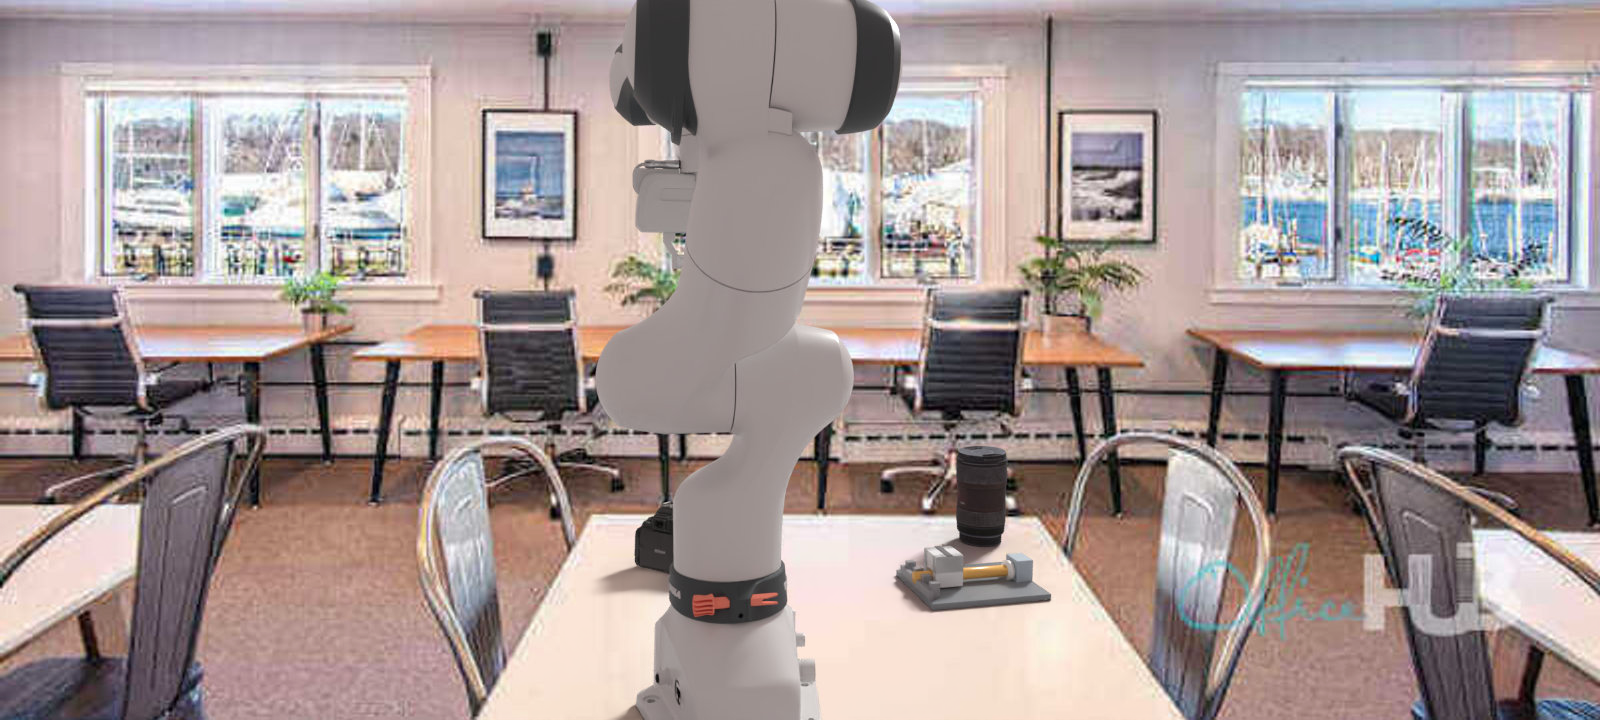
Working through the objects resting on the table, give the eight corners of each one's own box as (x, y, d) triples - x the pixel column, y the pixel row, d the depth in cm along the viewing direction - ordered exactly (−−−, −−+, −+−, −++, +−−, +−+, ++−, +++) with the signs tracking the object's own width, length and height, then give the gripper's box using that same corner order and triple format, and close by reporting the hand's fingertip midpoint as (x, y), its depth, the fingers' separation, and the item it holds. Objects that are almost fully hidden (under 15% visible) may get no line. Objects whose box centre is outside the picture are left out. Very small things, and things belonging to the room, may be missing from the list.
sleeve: (962, 585, 128) (963, 554, 128) (935, 588, 127) (936, 556, 127) (950, 575, 133) (950, 545, 132) (923, 577, 132) (924, 547, 131)
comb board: (1050, 599, 126) (1052, 572, 126) (932, 610, 122) (933, 581, 122) (1004, 566, 140) (1005, 541, 140) (896, 575, 136) (896, 549, 136)
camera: (730, 559, 143) (730, 495, 142) (718, 582, 133) (718, 513, 132) (645, 556, 144) (644, 492, 143) (626, 578, 134) (625, 509, 133)
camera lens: (944, 536, 155) (947, 447, 153) (985, 531, 158) (987, 443, 157) (973, 550, 148) (976, 457, 146) (1015, 544, 151) (1018, 452, 149)
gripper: (634, 156, 116) (635, 268, 117) (795, 161, 121) (794, 269, 122) (630, 161, 122) (631, 268, 123) (783, 166, 127) (783, 269, 128)
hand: (714, 268), depth 123 cm, fingers open, 8 cm apart
